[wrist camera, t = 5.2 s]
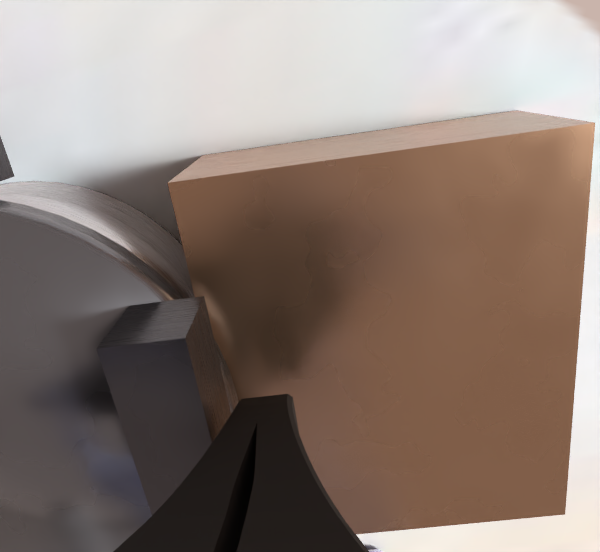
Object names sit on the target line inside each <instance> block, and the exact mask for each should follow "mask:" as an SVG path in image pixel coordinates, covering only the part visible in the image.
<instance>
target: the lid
mask: <svg viewBox="0 0 600 552" xmlns="http://www.w3.org/2000/svg"><path fill="white" fill-rule="evenodd" d="M237 404H238V397H237V393H236V390H235V386H234V383H233V380H232V376H231V373H230V370H229V368H228V365H227V363H226V361H225V359H224V357H223V355H222V353H221V350H220V348H219V346H218V344H217V342H216V341H215V339H214V336H213V332H212V328H211V323H210V319H209V315H208V310H207V306H206V302H205V298H204V296H202V297H194V298H186V299H185V298H184V297H183V296H182V295H181V294H180V293H179V292H178V291H177V290H176V289H175V288H174V287H173V286H172V285H171V284H170V283H169V282H168V281H167V280H165V279H164V278H163V277H162V276H161V275H160V274H159V273H158V272H157V271H156V270H155V269H153V268H152V267H151V266H149V265H148V264H147V263H145V262H144V261H143V260H141V259H140V258H139V257H137V256H136V255H134V254H133V253H132V252H130V251H129V250H128V249H126V248H125V247H123V246H121V245H119V244H118V243H116V242H114V241H112V240H111V239H109V238H107V237H105V236H104V235H102V234H100V233H99V232H97V231H95V230H93V229H91V228H88V227H86V226H84V225H81V224H79V223H77V222H74V221H72V220H70V219H68V218H65V217H63V216H61V215H57V214H54V213H51V212H48V211H44V210H41V209H38V208H35V207H31V206H28V205H25V204H19V203H14V202H8V201H3V200H0V552H113V551H115V550H116V549H117V548H118V547H119V546H120V545H121V544H122V543H123V542H124V541H125V540H127V539H128V538H129V537H130V536H131V535H132V534H133V533H134V532H135V531H136V530H138V529H139V528H140V527H141V526H142V525H143V524H144V523H145V522H146V521H147V520H148V519H149V518H150V517H151V516H152V515H153V514H154V513H155V512H156V511H157V510H158V509H159V508H160V507H161V506H162V505H163V504H164V503H165V501H166V500H167V499H168V498H169V497H170V496H171V495H172V494H173V492H174V491H175V490H176V489H177V488H178V487H179V485H180V484H181V483H182V482H183V480H184V479H185V478H186V477H187V475H188V474H189V473H190V472H191V470H192V469H193V468H194V467H195V465H196V464H197V463H198V461H199V460H200V459H201V457H202V456H203V455H204V453H205V452H206V450H207V449H208V448H209V446H210V445H211V443H212V442H213V441H214V439H215V438H216V436H217V435H218V433H219V432H220V430H221V429H222V427H223V426H224V424H225V423H226V421H227V420H228V418H229V417H230V415H231V413H232V412H233V410H234V409H235V407H236V406H237Z"/></svg>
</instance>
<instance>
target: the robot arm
mask: <svg viewBox="0 0 600 552" xmlns="http://www.w3.org/2000/svg"><path fill="white" fill-rule="evenodd" d="M113 552H383V551H381V550H378V549H372V550H367V549H366V547H365V546H364V545H363V543H362V542H361V541H360V540H359V538H358V537H357V536H356V534H355V533H354V532H353V530H352V529H351V528H350V526H349V525H348V524H347V522H346V521H345V520H344V518H343V517H342V515H341V514H340V512H339V511H338V509H337V508H336V506H335V505H334V503H333V502H332V500H331V498H330V497H329V495H328V493H327V492H326V490H325V488H324V487H323V485H322V483H321V481H320V479H319V478H318V476H317V474H316V472H315V470H314V468H313V466H312V464H311V462H310V459H309V457H308V455H307V453H306V450H305V448H304V445H303V443H302V440H301V438H300V435H299V430H298V424H297V418H296V413H295V407H294V401H293V397H292V396H290V395H289V394H281V395H272V396H262V397H253V398H244V399H241V400H240V401H239V403H238V404H237V406H236V407H235V409H234V410H233V412H232V413H231V415H230V417H229V418H228V420H227V421H226V423H225V424H224V426H223V427H222V429H221V430H220V432H219V433H218V435H217V436H216V438H215V439H214V441H213V442H212V443H211V445H210V446H209V448H208V449H207V450H206V452H205V453H204V455H203V456H202V457H201V459H200V460H199V461H198V463H197V464H196V465H195V467H194V468H193V469H192V470H191V472H190V473H189V474H188V475H187V477H186V478H185V479H184V480H183V482H182V483H181V484H180V485H179V487H178V488H177V489H176V490H175V491H174V492H173V494H172V495H171V496H170V497H169V498H168V499H167V500H166V501H165V503H164V504H163V505H162V506H161V507H160V508H159V509H158V510H157V511H156V512H155V513H154V514H153V515H152V516H151V517H150V518H149V519H148V520H147V521H146V522H145V523H144V524H143V525H142V526H141V527H140V528H139V529H138V530H136V531H135V532H134V533H133V534H132V535H131V536H130V537H129V538H128V539H127V540H125V541H124V542H123V543H122V544H121V545H120V546H119V547H118V548H117V549H116V550H115V551H113Z"/></svg>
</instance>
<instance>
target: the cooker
mask: <svg viewBox="0 0 600 552" xmlns="http://www.w3.org/2000/svg"><path fill="white" fill-rule="evenodd" d="M594 130H595V123H593V122H587V121H581V120H574V119H568V118H562V117H555V116H549V115H543V114H536V113H530V112H524V111H517V110H516V111H509V112H502V113H495V114H488V115H481V116H474V117H467V118H460V119H453V120H446V121H439V122H432V123H425V124H418V125H411V126H404V127H397V128H390V129H383V130H376V131H369V132H362V133H355V134H348V135H341V136H334V137H327V138H320V139H313V140H306V141H299V142H292V143H285V144H278V145H271V146H264V147H257V148H250V149H243V150H236V151H229V152H222V153H215V154H208V155H203V156H201V157H200V158H199V159H197V160H196V161H195V162H194V163H192V164H191V165H190V166H188V167H187V168H186V169H185V170H183V171H182V172H181V173H179V174H178V175H177V176H175V177H174V178H173V179H172V180H170V181H169V182H168V187H169V192H170V196H171V200H172V204H173V208H174V213H175V217H176V221H177V225H178V229H179V233H180V238H181V242H182V245H181V244H180V243H179V242H178V241H177V240H176V239H175V238H174V237H173V236H172V235H171V234H170V233H169V232H168V231H166V230H165V229H164V228H163V227H161V226H160V225H159V224H157V223H156V222H155V221H153V220H152V219H151V218H150V217H148V216H146V215H145V214H143V213H141V212H140V211H138V210H136V209H135V208H133V207H131V206H130V205H128V204H126V203H124V202H121V201H119V200H117V199H115V198H113V197H110V196H108V195H106V194H103V193H100V192H97V191H93V190H90V189H87V188H84V187H80V186H74V185H69V184H64V183H58V182H42V181H28V182H14V183H7V184H3V185H0V200H3V201H8V202H14V203H19V204H25V205H28V206H31V207H35V208H38V209H41V210H44V211H48V212H51V213H54V214H57V215H61V216H63V217H65V218H68V219H70V220H72V221H74V222H77V223H79V224H81V225H84V226H86V227H88V228H91V229H93V230H95V231H97V232H99V233H100V234H102V235H104V236H105V237H107V238H109V239H111V240H112V241H114V242H116V243H118V244H119V245H121V246H123V247H125V248H126V249H128V250H129V251H130V252H132V253H133V254H134V255H136V256H137V257H139V258H140V259H141V260H143V261H144V262H145V263H147V264H148V265H149V266H151V267H152V268H153V269H155V270H156V271H157V272H158V273H159V274H160V275H161V276H162V277H163V278H164V279H165V280H167V281H168V282H169V283H170V284H171V285H172V286H173V287H174V288H175V289H176V290H177V291H178V292H179V293H180V294H181V295H182V296H183V297H184V298H185V299H186V298H194V297H202V296H204V298H205V302H206V306H207V310H208V315H209V319H210V323H211V328H212V332H213V336H214V339H215V341H216V342H217V344H218V346H219V348H220V350H221V353H222V355H223V357H224V359H225V361H226V363H227V365H228V368H229V370H230V373H231V376H232V380H233V383H234V386H235V390H236V393H237V397H238V403H239V401H240V400H241V399H244V398H253V397H262V396H272V395H281V394H289V395H290V396H292V397H293V401H294V407H295V413H296V418H297V424H298V430H299V435H300V438H301V440H302V443H303V445H304V448H305V450H306V453H307V455H308V457H309V459H310V462H311V464H312V466H313V468H314V470H315V472H316V474H317V476H318V478H319V479H320V481H321V483H322V485H323V487H324V488H325V490H326V492H327V493H328V495H329V497H330V498H331V500H332V502H333V503H334V505H335V506H336V508H337V509H338V511H339V512H340V514H341V515H342V517H343V518H344V520H345V521H346V522H347V524H348V525H349V526H350V528H351V529H352V530H353V532H354V533H355V534H364V533H374V532H385V531H395V530H406V529H416V528H427V527H437V526H448V525H458V524H469V523H479V522H490V521H500V520H511V519H521V518H532V517H542V516H552V515H563V514H565V507H566V494H567V481H568V468H569V455H570V442H571V429H572V416H573V403H574V390H575V377H576V364H577V351H578V338H579V325H580V312H581V299H582V286H583V273H584V260H585V247H586V234H587V221H588V208H589V195H590V182H591V169H592V156H593V143H594ZM11 177H14V174H13V171H12V168H11V165H10V162H9V160H8V157H7V154H6V151H5V148H4V145H3V142H2V140H1V137H0V181H2V180H5V179H8V178H11Z"/></svg>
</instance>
